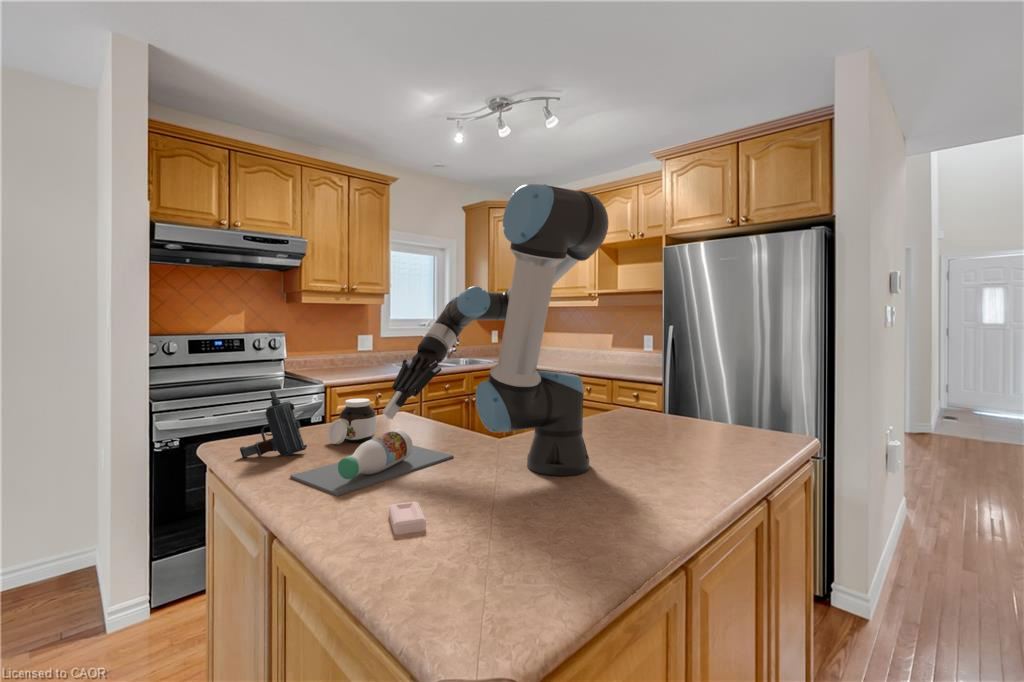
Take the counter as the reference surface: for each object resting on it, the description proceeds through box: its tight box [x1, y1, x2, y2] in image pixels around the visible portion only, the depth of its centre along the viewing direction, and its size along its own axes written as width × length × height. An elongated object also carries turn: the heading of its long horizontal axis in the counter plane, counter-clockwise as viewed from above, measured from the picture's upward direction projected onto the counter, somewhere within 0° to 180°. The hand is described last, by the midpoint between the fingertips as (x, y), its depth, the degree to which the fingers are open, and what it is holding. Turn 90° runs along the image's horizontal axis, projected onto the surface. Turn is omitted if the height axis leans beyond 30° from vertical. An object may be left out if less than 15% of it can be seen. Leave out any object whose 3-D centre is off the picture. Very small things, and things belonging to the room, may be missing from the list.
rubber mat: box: [289, 445, 455, 497], centre depth 120 cm, size 34×18×1 cm, turn 143°
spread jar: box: [327, 398, 378, 445], centre depth 144 cm, size 12×11×12 cm
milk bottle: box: [337, 428, 414, 479], centre depth 115 cm, size 8×8×20 cm
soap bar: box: [388, 501, 427, 536], centre depth 89 cm, size 5×9×2 cm, turn 20°
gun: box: [239, 390, 308, 459], centre depth 128 cm, size 3×17×15 cm
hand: (387, 415), depth 122 cm, fingers closed
